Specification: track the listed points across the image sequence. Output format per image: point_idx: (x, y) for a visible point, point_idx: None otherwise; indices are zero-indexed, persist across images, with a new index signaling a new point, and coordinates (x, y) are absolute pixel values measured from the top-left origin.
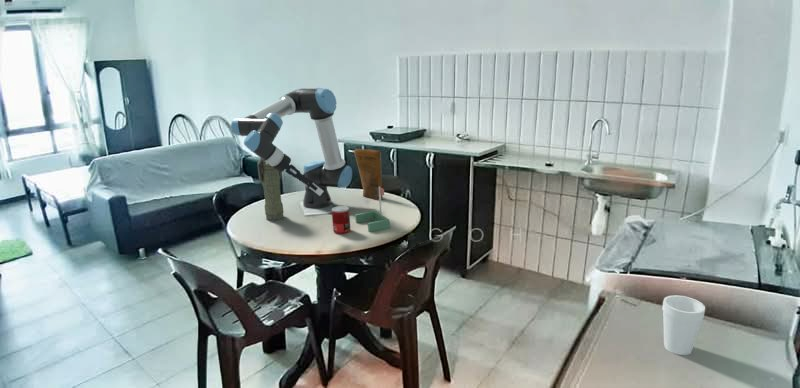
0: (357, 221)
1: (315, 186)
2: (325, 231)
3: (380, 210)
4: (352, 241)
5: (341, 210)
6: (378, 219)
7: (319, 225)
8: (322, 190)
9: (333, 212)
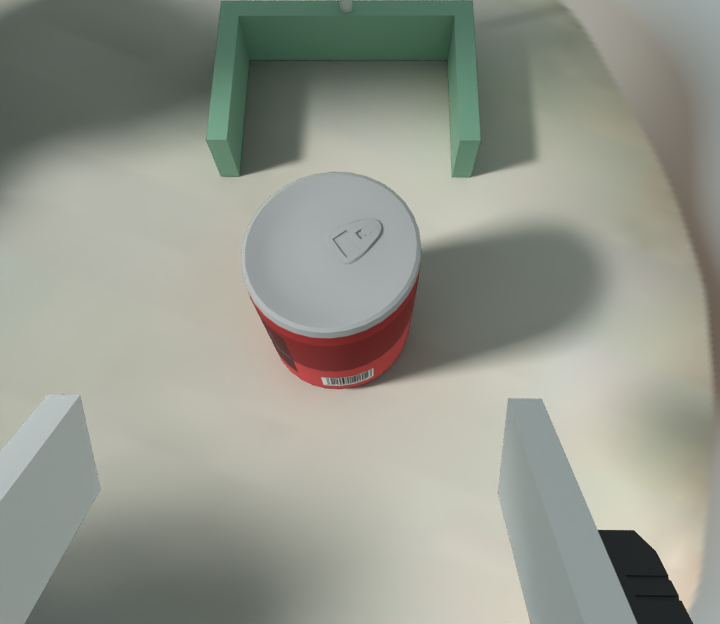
0: (238, 165)
1: (678, 596)
2: (268, 440)
3: None
4: (592, 341)
5: (376, 256)
6: (322, 44)
7: (99, 434)
8: (550, 421)
9: (352, 337)
